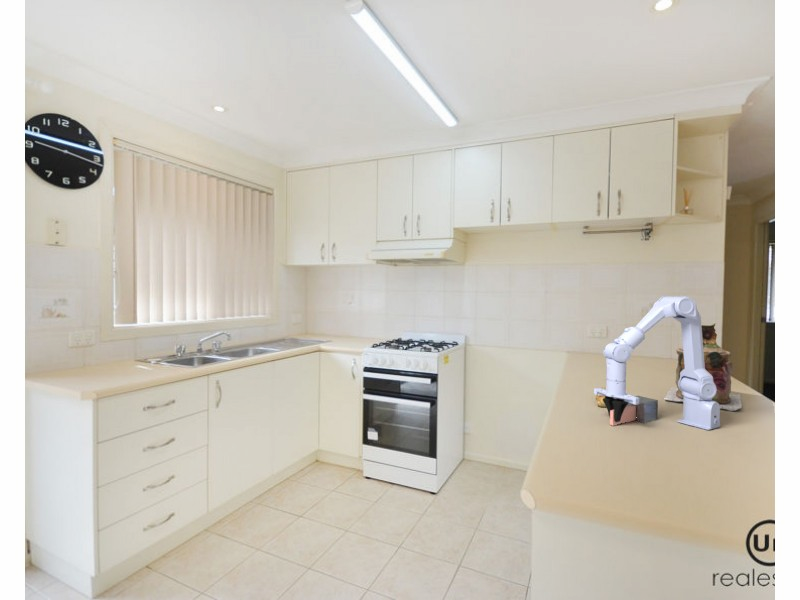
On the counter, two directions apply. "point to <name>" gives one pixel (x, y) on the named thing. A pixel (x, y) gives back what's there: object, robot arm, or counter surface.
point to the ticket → (624, 415)
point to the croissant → (600, 399)
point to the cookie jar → (711, 371)
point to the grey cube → (646, 409)
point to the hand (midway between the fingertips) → (615, 420)
